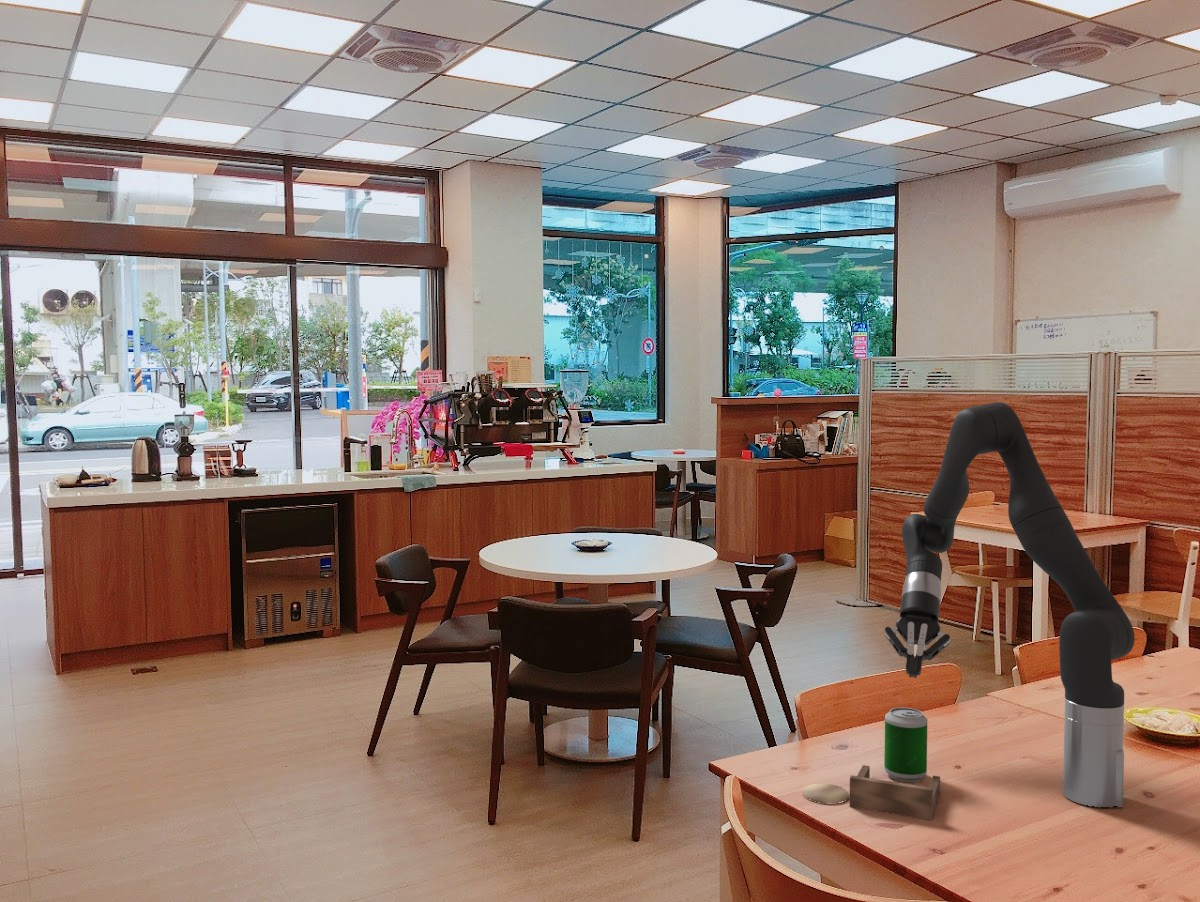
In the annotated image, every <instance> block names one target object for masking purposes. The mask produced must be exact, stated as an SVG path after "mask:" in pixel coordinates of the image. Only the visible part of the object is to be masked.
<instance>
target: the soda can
mask: <svg viewBox="0 0 1200 902" xmlns="http://www.w3.org/2000/svg"><path fill="white" fill-rule="evenodd" d="M883 767H884V768H883V769H884V771H885V772H886V774H888V776H889V777H890V778H891V779H893V780H895V781H898V780H899V781H898V782H902V781H903V782H902V783H917V782H920V781H921V780H923V778H924V777H925V776H926V775H927V773H928V771H927V769H928V718H927V717H926V716H925V714H924V712H922V711H921V710H918V709H917V708H911V707H893V708H891V709H890V710H889V712H887V713H885V716H884V766H883Z"/></svg>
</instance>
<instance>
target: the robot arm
mask: <svg viewBox="0 0 1200 902" xmlns="http://www.w3.org/2000/svg"><path fill="white" fill-rule="evenodd" d="M994 452H996V453H998V454H999V456H1000V457H1001V459H1002V463H1004V466H1005V468H1006V470H1007V473H1008V477H1009V494H1008V507H1007V511H1008V513H1007V514H1008V519H1009V523H1010V525H1011V527H1012V529H1013V531H1014V533H1015V535H1016V537H1017V539H1018V541H1019V543H1020V544H1021V546H1022V549H1023V550H1024V552H1025V553H1026V554H1027V555H1028V557H1029V558H1030V559H1031V560H1032V561H1033V562H1034V563H1035V564H1036V565H1037V566H1038V567H1039V568H1040V569H1041V570H1042V571H1043V572H1044V573H1046V574H1047V576H1049V577H1050V578H1051V579H1052V580H1053V581H1054V582H1056V584H1057V585H1058V587H1060V588H1061V589H1062V591H1063V592H1064V594H1065V596H1066V597H1067V598H1068V600H1069V602H1070V604H1071V605H1072V608H1073V609H1074V611H1073V612H1072V613H1069V614H1068V615H1066V616H1065V618H1064V620H1063V621H1062V623H1061V626H1060V629H1059V639H1058V640H1059V642H1058V645H1059V646H1058V648H1059V649H1058V650H1059V652H1058V653H1059V675H1060V679H1061V682H1062V685H1063V687H1064V688H1063V689H1064V727H1063V730H1064V733H1063V735H1064V736H1063V737H1064V738H1063V768H1062V769H1063V776H1062V777H1063V780H1062V785H1063V786H1062V793H1063V796H1064V797H1065V798H1067V800H1069V801H1071V802H1074V803H1077V804H1078V805H1079V804H1080V805H1083V806H1087V805H1088V807H1092V806H1094V807H1095V808H1101V807H1109V808H1114V807H1113V806H1117V807H1116V808H1120V807H1123V808H1124V773H1125V771H1124V770H1125V752H1124V728H1125V727H1124V724H1125V723H1124V721H1125V716H1124V715H1125V689H1124V687H1123V686H1122V685H1120V684H1119V683H1117V682H1115V681H1114V680H1113V671H1112V661H1113V660H1114V661H1115V660H1119V659H1121V658H1124V657H1125V656H1127V655H1129V654H1130V653H1131V651H1132V650H1133V647H1134V645H1135V639H1136V637H1135V630H1134V627H1133V624H1132V622H1131V621H1130V619H1129V616H1128V615H1127V614H1126V612H1125V610H1124V609H1123V607H1122V606H1121V605H1120V603H1119V602H1118V600H1117V599H1116V598H1115V596H1114V595H1113V593H1112V592H1111V590H1110V589H1109V587H1108V586H1107V584H1106V583H1105V581H1104V580H1103V579H1102V576H1100V573H1099V572H1098V570H1097V569H1096V567H1095V565H1094V564H1093V561H1092V560H1091V558H1090V555H1089V554H1088V552H1087V551H1086V549H1085V547H1084V545H1083V544H1082V542H1081V541H1080V539H1079V536H1078V535H1077V533H1076V531H1075V529H1074V527H1073V525H1072V523H1071V521H1070V519H1069V517H1068V516H1067V513H1066V512H1065V510H1064V507H1063V506H1062V505H1061V503H1060V501H1059V499H1058V498H1057V496H1056V495H1055V492H1054V491H1053V490H1052V487H1051V486H1050V484H1049V481H1048V479H1047V477H1046V476H1045V474H1044V472H1043V470H1042V468H1041V466H1040V464H1039V461H1038V459H1037V457H1036V455H1035V453H1034V450H1033V448H1032V445H1031V443H1030V440H1029V439H1028V436H1027V433H1026V431H1025V429H1024V426H1023V424H1022V422H1021V420H1020V418H1019V416H1018V414H1017V412H1015V410H1014V409H1013V408H1012V407H1011V406H1010V405H1008V404H1007V403H1005V402H1000V401H999V402H997V401H996V402H991V403H985V404H980V405H975V406H971V407H966V408H964V409H962V410H960V411H959V412H958V413H957V415H956V416H955V418H954V420H953V423H952V425H951V428H950V431H949V435H948V439H947V443H946V446H945V450H944V453H943V458H942V461H941V465H940V469H939V471H938V475H937V477H936V480H935V482H933V485H932V488H931V489H930V492H929V493H928V494H927V497H926V499H925V501H924V503H923V507H922V508H923V514H920V513H913V514H910V515H908V516H907V517H906V518H905V520H904V522H903V524H902V527H901V536H902V537H901V538H902V542H903V543H902V544H903V546H904V547H903V548H904V551H905V557H906V568H905V570H906V571H905V578H904V579H905V580H904V582H903V586H902V593H901V600H900V603H901V604H900V609H899V616H898V617H899V618H898V619H897V620H896V623H895V625H893V626H891V627H890V626H886V627H885V628H884V637H885V638H886V639H887V641H888V642H889V643H890V645H891V646H892V647H893V649H894V650H895V652H896V653H897V655H898V656H900V657H903V658H906V661H905V673H906V675H908V677H909V678H914V679H917V678H918V676H921V674H922V665H923V661H925V660H927V661H932V660H933V659H934V658H935V657H936V656H938V655H939V654H940V653H942V652H943V651H944V650H945V649H946V648H947V647H948V646H949V645H950V644H951V635H950V634H948V633H944V632H942V631H941V626H940V624H939V619H940V611H941V610H940V609H941V602H942V585H941V584H942V572H943V562H942V559H941V557H940V556H939V555H938V554H943V553H945V552H947V551H949V549H951V548H952V545H953V543H954V538H955V537H954V535H955V525H956V521H957V520H958V519H957V518H958V516H959V515H960V512H961V510H962V509H963V507H964V505H965V503H966V501H968V500H967V499H968V497H969V494H970V482H969V478H968V474H967V471H968V468H969V466H970V464H971V463H973V461H974V459H975V458H976V457H978V455H984V454H987V453H994ZM898 633H899V634H900V637H901V638H902V639H903V640H904V642H905V643H907V646H906V647H905V646H904V644H903V643H902V642H901V640H900V638H899V637H898V635H899V634H898ZM935 639H936V641H935V642H934V643H932V642H933V641H934V640H935ZM931 643H932V645H930V644H931ZM915 645H917V649H916V652H915ZM928 645H930V646H929V647H928V648H927V649H926V646H928ZM915 653H916V654H915ZM1094 807H1093V808H1094Z"/></svg>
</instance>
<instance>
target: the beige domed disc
mask: <svg viewBox="0 0 1200 902" xmlns="http://www.w3.org/2000/svg"><path fill="white" fill-rule="evenodd" d="M801 791H802V792H801V793H803V794H802V796H803V795H804V796H805V797H807V798H808V799H811V800H813V801H816V802H820V803H819V804H821V803H839V802H842V801H845V800H847V799H848V798H849V799H850V792H849V791H848V790H847V789H846V788H843V787H842V786H839V785H836V784H831V783H811V784H808V785H806V786H804V787H803V788H802V789H801ZM804 796H803V797H804ZM805 797H804V798H805ZM808 799H807V800H808ZM849 799H848V800H849ZM848 800H847V801H848ZM813 801H812V802H813ZM816 802H815V803H816ZM845 802H846V801H845ZM839 804H840V803H839Z"/></svg>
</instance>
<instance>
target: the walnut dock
mask: <svg viewBox="0 0 1200 902" xmlns="http://www.w3.org/2000/svg"><path fill="white" fill-rule="evenodd" d="M870 767H871V766H870V765H866V764H863V765H861V767H860V770H859V771H858V773H857V775H850V777H849V807H850V806H853V807H852V808H856V807H858V808H857V809H862V808H864V809H863V810H868V809H869V811H874V810H876V811H875V812H880V811H881V813H886V812H888V813H887V814H892V813H894V814H893V815H898V814H899V815H898V816H903V817H905V816H906V817H911V818H917V819H922V820H928V821H932V820H933V816H934V813H935V810H936V808H937V807H936V806H937V804H938V801H939V797H940V795H941V776H939V775H938V776H937V775H932V778H931V780H930V783H929V786H923V785H916V784H909V783H905V782H899V781H897V782H896V781H891V780H884V779H878V778H872V777H870V774H871V773H870V769H871V768H870Z"/></svg>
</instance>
